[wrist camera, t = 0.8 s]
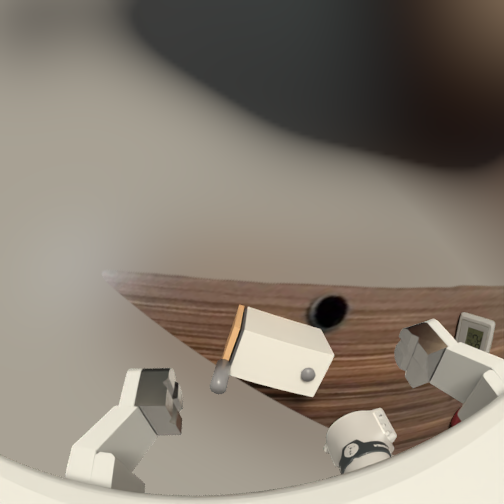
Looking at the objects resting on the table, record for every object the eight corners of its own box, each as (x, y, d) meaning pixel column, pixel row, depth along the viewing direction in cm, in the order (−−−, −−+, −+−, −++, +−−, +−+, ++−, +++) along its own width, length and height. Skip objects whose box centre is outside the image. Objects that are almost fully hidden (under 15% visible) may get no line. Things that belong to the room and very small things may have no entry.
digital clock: (459, 308, 54) (485, 321, 44) (481, 310, 54) (506, 322, 44) (439, 367, 56) (460, 386, 46) (461, 366, 56) (482, 383, 46)
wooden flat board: (247, 307, 55) (241, 349, 37) (234, 345, 56) (223, 396, 38) (236, 303, 55) (224, 343, 37) (223, 341, 56) (207, 391, 38)
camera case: (320, 329, 56) (335, 357, 43) (302, 369, 57) (311, 403, 44) (246, 305, 55) (241, 330, 43) (230, 348, 57) (223, 380, 44)
